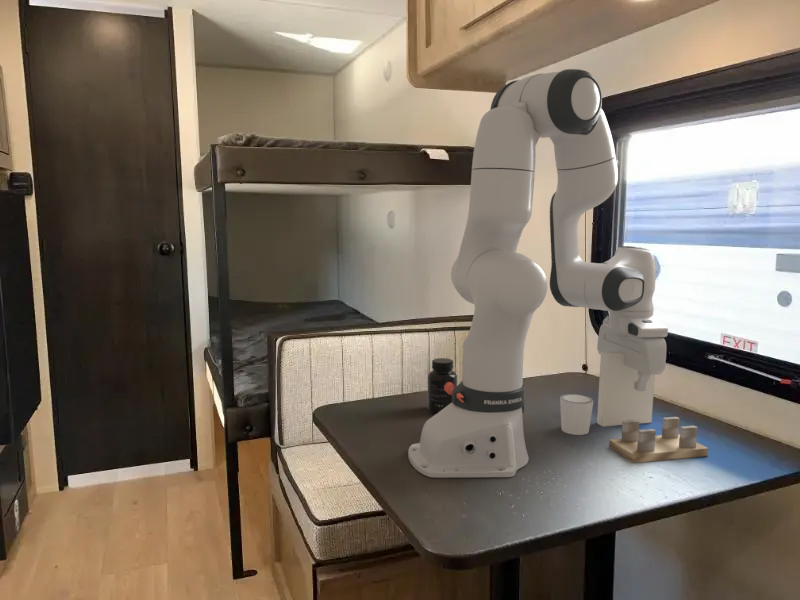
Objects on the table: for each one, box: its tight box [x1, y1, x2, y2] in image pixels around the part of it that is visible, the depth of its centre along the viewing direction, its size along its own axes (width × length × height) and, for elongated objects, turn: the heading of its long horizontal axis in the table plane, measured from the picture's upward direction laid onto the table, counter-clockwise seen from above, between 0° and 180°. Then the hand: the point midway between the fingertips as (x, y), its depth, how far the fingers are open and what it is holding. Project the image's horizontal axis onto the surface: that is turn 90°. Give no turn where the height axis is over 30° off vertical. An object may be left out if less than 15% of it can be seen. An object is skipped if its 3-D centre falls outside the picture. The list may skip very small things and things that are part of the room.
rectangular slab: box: [596, 351, 656, 427], centre depth 134 cm, size 12×3×16 cm, turn 103°
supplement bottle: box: [427, 357, 458, 415], centre depth 142 cm, size 7×7×12 cm
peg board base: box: [608, 416, 709, 464], centre depth 119 cm, size 16×8×6 cm, turn 103°
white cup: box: [559, 393, 594, 436], centre depth 131 cm, size 7×7×7 cm
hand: (626, 384), depth 135 cm, fingers open, 8 cm apart
